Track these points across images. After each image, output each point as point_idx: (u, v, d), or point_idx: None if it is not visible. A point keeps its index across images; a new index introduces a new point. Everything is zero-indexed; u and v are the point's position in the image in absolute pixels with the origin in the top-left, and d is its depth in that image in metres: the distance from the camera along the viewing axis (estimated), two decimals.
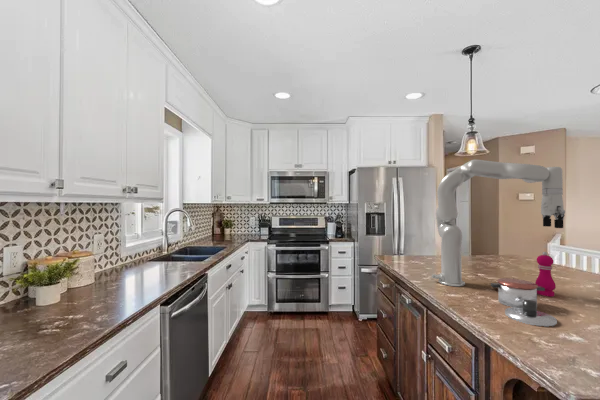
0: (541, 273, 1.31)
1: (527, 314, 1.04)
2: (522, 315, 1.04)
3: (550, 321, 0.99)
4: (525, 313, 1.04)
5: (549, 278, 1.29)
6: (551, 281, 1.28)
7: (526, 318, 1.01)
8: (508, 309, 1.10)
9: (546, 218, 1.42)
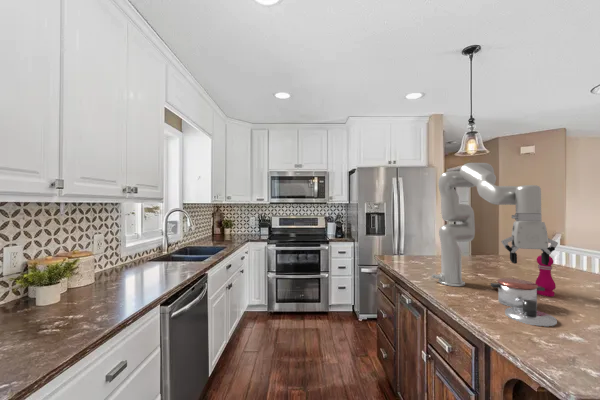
0: (541, 273, 1.31)
1: (527, 314, 1.04)
2: (522, 315, 1.04)
3: (550, 321, 0.99)
4: (525, 313, 1.04)
5: (549, 278, 1.29)
6: (551, 281, 1.28)
7: (526, 318, 1.01)
8: (508, 309, 1.10)
9: None
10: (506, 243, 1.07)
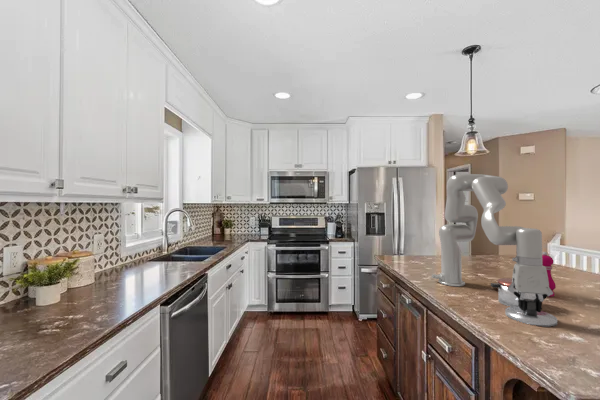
0: None
1: (527, 313, 1.04)
2: (522, 314, 1.04)
3: (551, 320, 0.99)
4: (525, 312, 1.04)
5: (549, 278, 1.29)
6: (551, 281, 1.28)
7: (526, 317, 1.01)
8: (508, 308, 1.10)
9: None
10: (513, 291, 1.06)
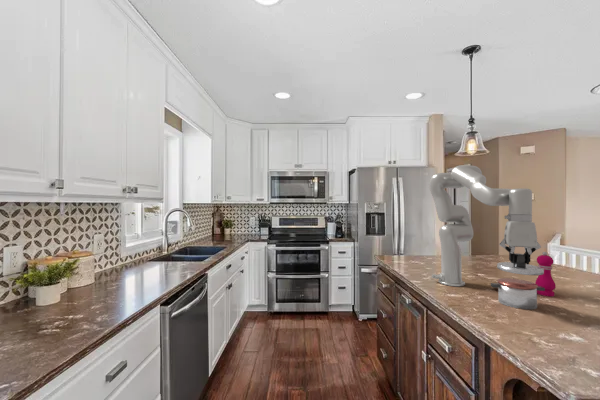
0: None
1: (517, 265, 1.14)
2: (512, 266, 1.14)
3: (537, 270, 1.09)
4: (515, 265, 1.14)
5: (549, 278, 1.29)
6: (551, 281, 1.28)
7: (516, 268, 1.11)
8: (500, 263, 1.20)
9: None
10: (504, 246, 1.16)
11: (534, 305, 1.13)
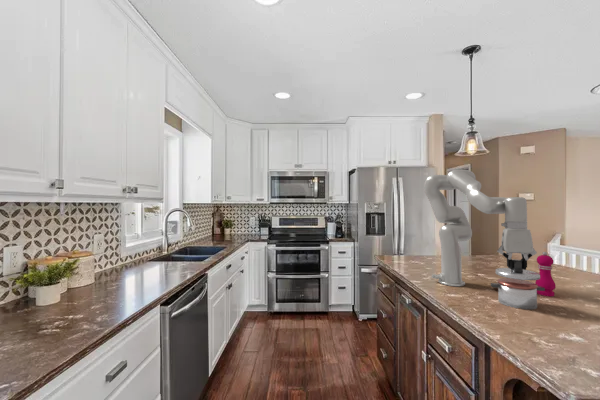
0: (541, 273, 1.31)
1: (514, 271, 1.18)
2: (510, 272, 1.19)
3: (534, 275, 1.14)
4: (513, 270, 1.19)
5: (549, 278, 1.29)
6: (551, 281, 1.28)
7: (513, 273, 1.16)
8: (498, 269, 1.25)
9: None
10: (502, 252, 1.21)
11: (534, 305, 1.13)
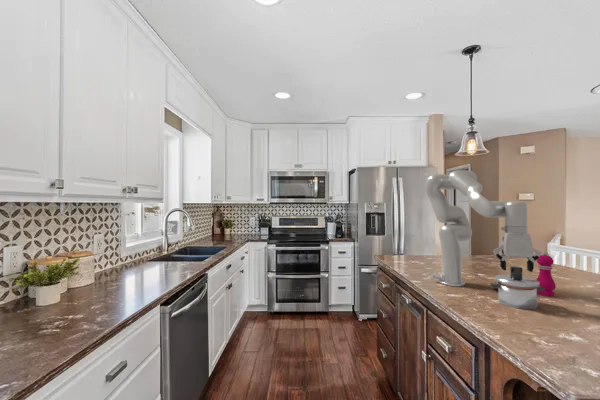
0: (541, 273, 1.31)
1: (514, 278, 1.19)
2: (510, 279, 1.19)
3: (533, 282, 1.14)
4: (512, 277, 1.19)
5: (549, 278, 1.29)
6: (551, 281, 1.28)
7: (513, 281, 1.16)
8: (498, 275, 1.25)
9: None
10: (496, 252, 1.21)
11: (534, 305, 1.13)
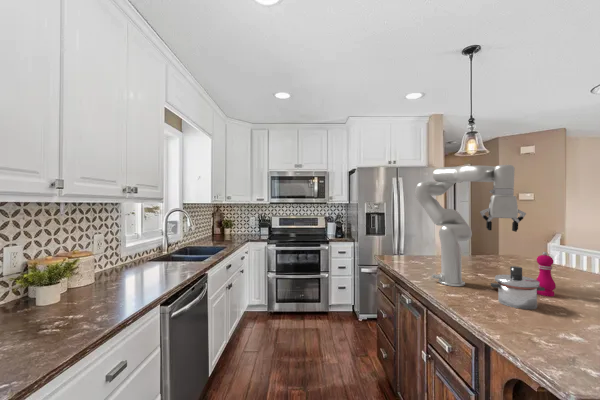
0: (541, 273, 1.31)
1: (514, 278, 1.19)
2: (510, 279, 1.19)
3: (533, 282, 1.14)
4: (512, 277, 1.19)
5: (549, 278, 1.29)
6: (551, 281, 1.28)
7: (513, 281, 1.16)
8: (498, 275, 1.25)
9: None
10: (483, 214, 1.28)
11: (534, 305, 1.13)
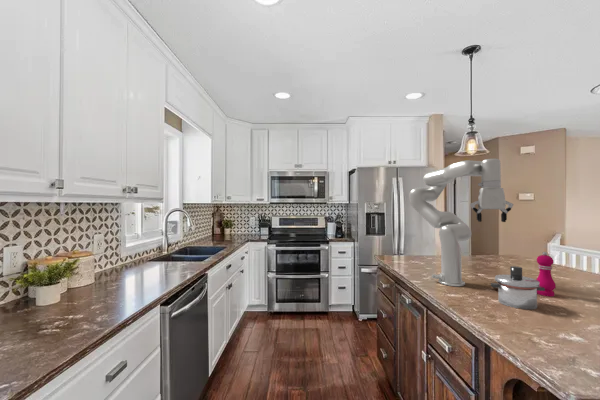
0: (541, 273, 1.31)
1: (514, 278, 1.19)
2: (510, 279, 1.19)
3: (533, 282, 1.14)
4: (512, 277, 1.19)
5: (549, 278, 1.29)
6: (551, 281, 1.28)
7: (513, 281, 1.16)
8: (498, 275, 1.25)
9: None
10: (473, 206, 1.33)
11: (534, 305, 1.13)
